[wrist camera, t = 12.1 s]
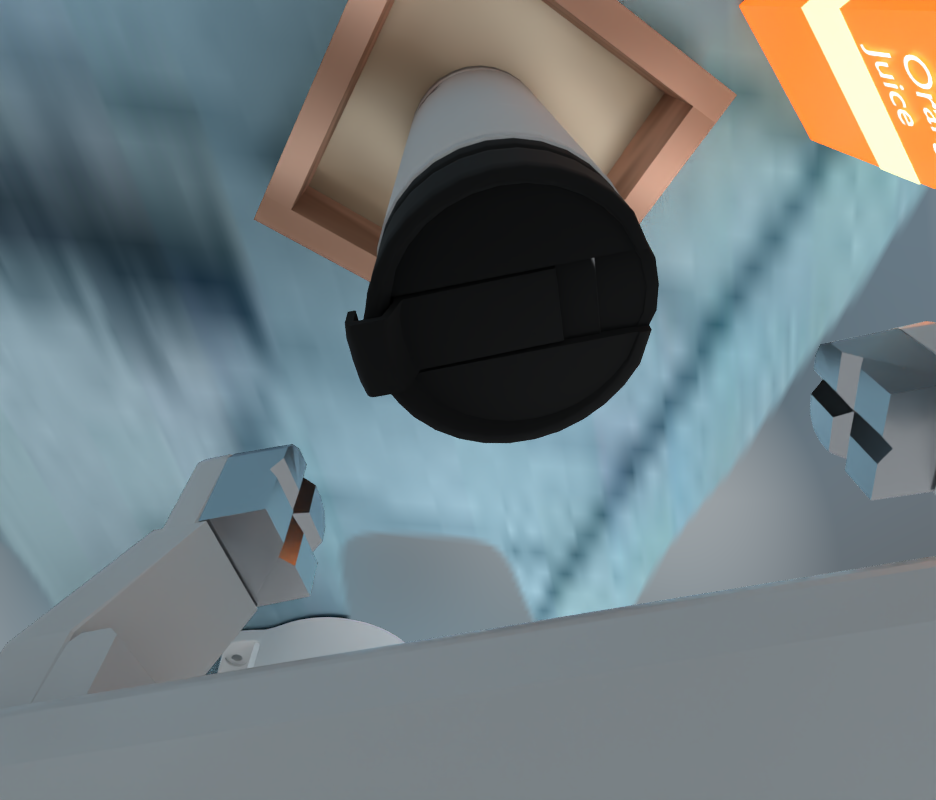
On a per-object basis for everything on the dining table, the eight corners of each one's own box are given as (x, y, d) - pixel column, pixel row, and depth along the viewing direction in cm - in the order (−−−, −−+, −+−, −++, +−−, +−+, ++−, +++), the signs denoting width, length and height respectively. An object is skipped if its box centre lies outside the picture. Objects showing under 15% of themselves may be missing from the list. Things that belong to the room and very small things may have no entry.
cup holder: (521, 326, 36) (531, 375, 32) (274, 188, 32) (244, 221, 27) (700, 77, 29) (747, 92, 25) (419, -143, 25) (412, -175, 20)
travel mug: (388, 82, 28) (298, 211, 11) (536, 51, 27) (679, 137, 10) (419, 220, 31) (387, 482, 14) (552, 195, 31) (679, 435, 14)
